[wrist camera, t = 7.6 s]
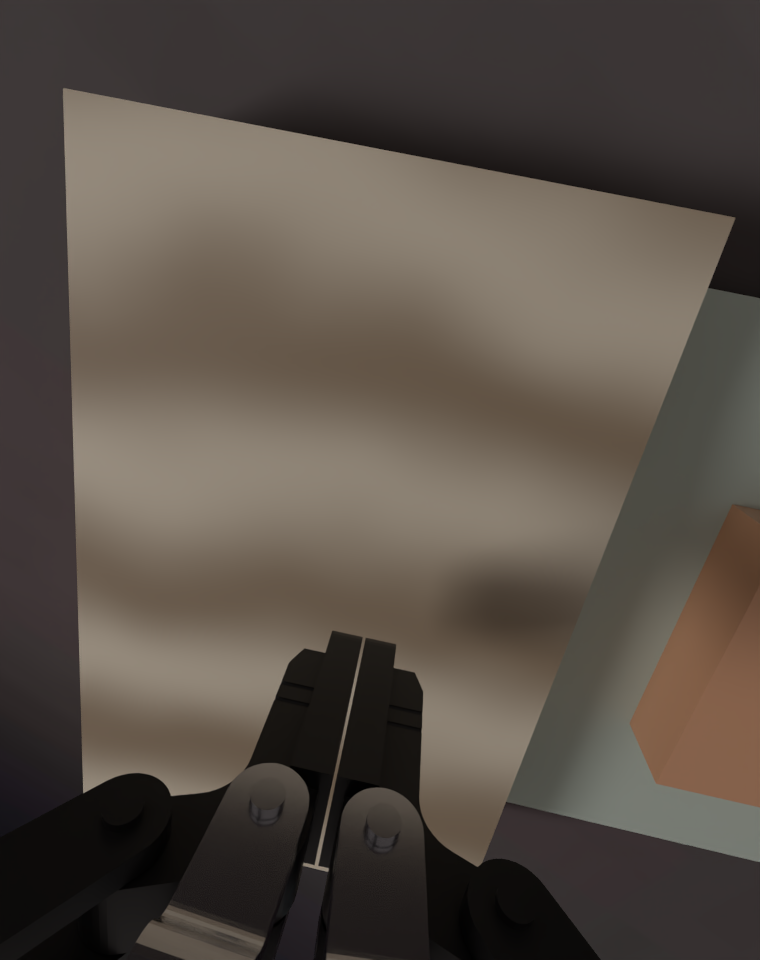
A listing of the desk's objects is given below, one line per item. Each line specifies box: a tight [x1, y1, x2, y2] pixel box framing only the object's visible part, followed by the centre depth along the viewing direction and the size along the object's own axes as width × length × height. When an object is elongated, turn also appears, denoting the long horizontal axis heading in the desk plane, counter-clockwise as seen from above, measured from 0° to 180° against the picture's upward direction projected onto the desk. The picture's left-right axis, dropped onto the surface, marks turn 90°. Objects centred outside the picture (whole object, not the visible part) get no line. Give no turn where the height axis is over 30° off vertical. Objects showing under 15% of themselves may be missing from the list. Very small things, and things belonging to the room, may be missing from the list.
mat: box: [506, 288, 760, 862], centre depth 17 cm, size 20×14×1 cm
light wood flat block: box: [63, 88, 735, 872], centre depth 16 cm, size 22×14×4 cm, turn 169°
